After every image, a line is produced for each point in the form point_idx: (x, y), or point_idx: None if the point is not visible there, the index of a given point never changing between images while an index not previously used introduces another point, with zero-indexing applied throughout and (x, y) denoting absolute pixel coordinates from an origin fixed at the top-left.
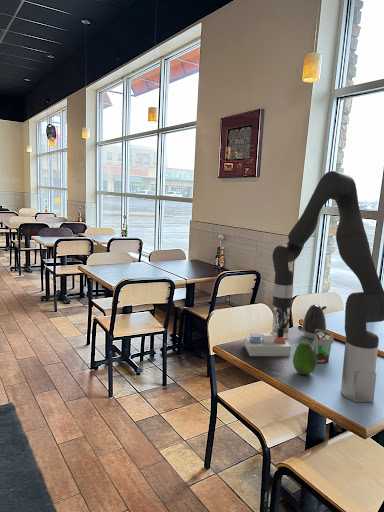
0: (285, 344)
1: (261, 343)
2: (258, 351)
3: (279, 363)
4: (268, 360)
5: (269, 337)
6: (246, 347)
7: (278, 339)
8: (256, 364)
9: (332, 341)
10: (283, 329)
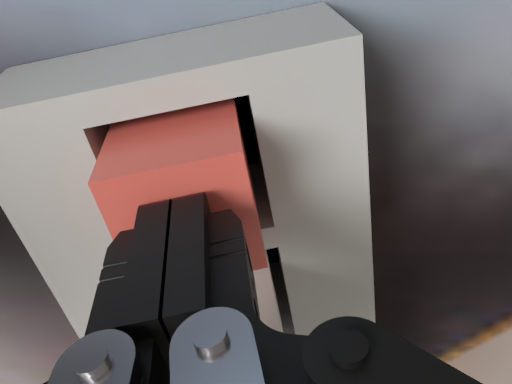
0: (291, 112)
1: None
2: None
3: (503, 136)
4: (433, 221)
5: None
6: None
7: (261, 235)
8: (498, 293)
9: None
10: (207, 294)
